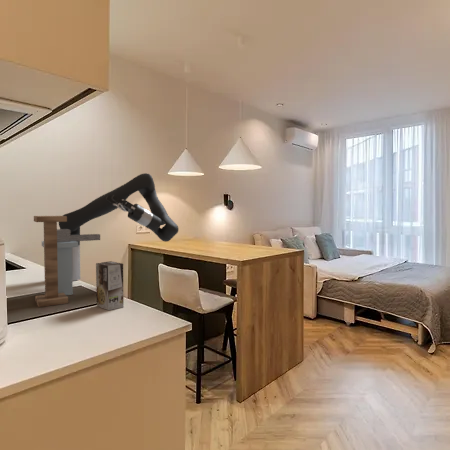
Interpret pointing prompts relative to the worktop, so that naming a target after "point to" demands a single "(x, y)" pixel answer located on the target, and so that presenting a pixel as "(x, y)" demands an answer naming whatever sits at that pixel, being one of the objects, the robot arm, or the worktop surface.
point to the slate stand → (65, 266)
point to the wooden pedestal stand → (50, 262)
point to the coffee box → (109, 285)
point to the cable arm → (74, 236)
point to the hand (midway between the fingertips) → (109, 197)
